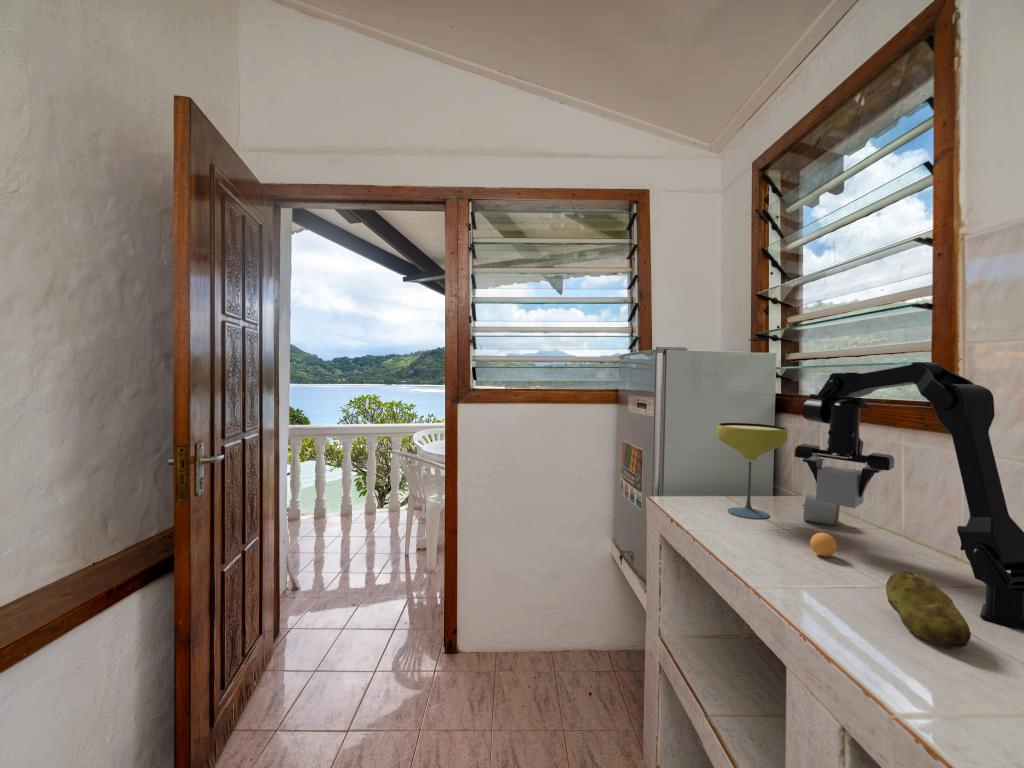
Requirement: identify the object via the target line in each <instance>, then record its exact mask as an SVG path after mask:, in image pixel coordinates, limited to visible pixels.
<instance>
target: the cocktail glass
mask: <svg viewBox="0 0 1024 768" xmlns="http://www.w3.org/2000/svg"><path fill="white" fill-rule="evenodd" d="M788 432H789V431H788V428H786V427H784V426H778V425H772V424H763V423H750V422H748V423H747V422H722V423H718V425H717V427H716V435H717V438H719V440H720V441H721V442H723V443H724V444H725V445H727V446H728V447H729V448H731V449H734V450H735V451H737V452H738V453H740V454H741V455H742V457H743V458H744V459H745V461H747V462H748V477H747V479H748V480H747V481H748V482H747V495H746V502H745V506H744V507H743V506H741V507H740V506H736V507H729V508H727V512H728V513H729V514H730V515H733V516H735V517H739V518H744V519H749V518H751V520H765V519H764V518H766V519H768V518H769V517H770V514H769V513H768V512H766V511H763V510H761V509H757V508H753V507H752V504H751V483H752V482H751V479H752V478H751V477H752V463H754V462H755V461H756V460H757V459H758V458H759V457H760V456H762V455H763V454H765V453H768V452H772V451H774V450H776V449H778V448H781V447H782V446H783V445H784V444H786V443H787V441H788V436H789V433H788Z"/></svg>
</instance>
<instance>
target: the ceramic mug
mask: <svg viewBox="0 0 1024 768" xmlns="http://www.w3.org/2000/svg"><path fill="white" fill-rule="evenodd" d="M804 497H805V498H804V503H803V504H804V505H803V506H804V507H803V513H802V514H803V515H802V517H803V518H802V519H803V521H804V522H811V523H816V524H824V525H827V524H828V526H837V525H838V524H839V519H840V518H839V517H840V510H841V505H836V504H831V503H826V502H821V501H816V493H812V492H806V493H805V496H804Z"/></svg>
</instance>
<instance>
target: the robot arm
mask: <svg viewBox="0 0 1024 768" xmlns="http://www.w3.org/2000/svg"><path fill="white" fill-rule="evenodd" d="M911 385H916V387H917V389H918V392H919V394H920V395H921V396H922V397H923V398H925V399H926V400H927V401H929V402H930V403H931V405H932V408H933V412H934V413H935V415H936V418H937V420H938V422H940V424H942V426H943V427H944V428H945V429H946V430H947V431H948V432H949V433H950V435H951V438H952V442H953V446H954V451H955V454H956V459H957V464H958V470H959V473H960V477H961V482H962V485H963V486H962V487H963V490H964V494H965V495H964V496H965V499H966V504H967V506H968V510H969V518H968V521H967V524H966V525H958V526H957V528H956V529H957V530H956V531H957V534H958V537H959V539H960V548H959V549H960V551H964V553H965V556H966V559H967V560H968V562H969V563H970V566H971V571H972V574H973V576H974V578H975V580H978V581H980V582H982V583H983V584H984V585H985V600H984V601H985V603H983V604H982V606H981V610H980V614H979V618H980V619H982V620H983V619H984V620H986V621H989V622H993V623H997V624H999V625H1000V624H1001V625H1005V626H1008V627H1012V628H1016V629H1019V630H1023V631H1024V530H1022V528H1021V527H1020V526H1019V525H1018V524H1017V523H1016V521H1015V520H1014V519H1012V517H1011V516H1010V514H1009V510H1008V508H1007V507H1008V506H1007V503H1006V498H1005V495H1004V490H1003V488H1002V482H1001V478H1000V474H999V469H998V467H997V466H998V465H997V462H996V458H995V454H994V451H993V446H992V442H991V439H990V438H991V437H990V434H989V431H990V428H991V425H992V424H993V421H994V419H995V399H994V395H993V393H992V391H991V390H990V389H989V388H987V387H984V386H983V385H981V384H976V383H974V382H973V381H971V380H970V379H968V378H965V377H963V376H961V375H959V374H957V373H955V372H953V371H951V370H948V369H947V368H946V367H944V366H943V365H942V364H940V363H938V362H929V361H916V362H913V363H912V364H906V365H900V366H894V367H889V368H883V369H877V370H872V371H866V372H849V371H848V372H845V371H844V372H843V371H842V372H841V371H840V372H838V371H835V372H832V373H831V374H829V377H828V379H827V381H826V382H825V383H824V385H823V387H822V388H821V389H820V391H819V392H818V393H810V394H809V398H808V399H806V401H805V402H804V403H803V404H802V406H801V414H802V417H803V418H804V420H807V421H810V422H816V423H822V424H828V425H829V429H828V433H827V435H828V439H827V445H828V446H827V449H821V447H820V445H816V444H809V443H807V444H806V443H802V444H798V445H797V446H796V447H795V449H794V457H795V458H800V459H802V462H804V463H806V464H807V465H808V467H809V469H810V471H811V473H812V475H813V478H814V480H815V483H816V484H817V472H818V469H820V468H823V462H824V459H825V458H826V459H832V460H839V461H846V462H853V463H858V464H859V463H861V464H864V465H865V467H862V468H861V471H862V473H861V480H860V487H859V497H862V496H863V494H864V495H865V492H866V489H867V488H868V486H869V483H870V481H871V480H872V478H873V477H874V475H875V474H878V473H880V472H882V471H891V470H892V469H894V468H895V457H894V456H893V455H892V454H886V453H885V454H884V453H879V452H878V453H877V452H872V453H869V454H868V455H867V454H865V455H864V454H863V449H864V443H865V442H864V441H863V440H862V439H861V438H860V419H861V409H863V410H864V409H867V410H869V408H870V405H869V404H868V403H867V402H866V401H864V399H863V398H862V397H864V396H867V395H870V394H872V393H873V392H875V391H877V390H882V389H889V388H896V387H905V386H911ZM1008 571H1010V572H1008Z"/></svg>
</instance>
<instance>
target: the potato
mask: <svg viewBox="0 0 1024 768" xmlns="http://www.w3.org/2000/svg"><path fill="white" fill-rule="evenodd" d="M885 584H886V585H885V593H886V597H887V600H888V601H887V602H888V603H889V604H890V606H891V607H892V609H893V610H894V611H895V612H896V613H897V614H898V616H899V618H900V620H901V622H902V624H903V625H904V626H905V628H906V629H908V631H910V632H911V633H913V634H915V636H917V637H919V638H921V639H923V640H925V641H927V642H929V643H932V644H935V645H938V646H942V647H943V648H948V649H958V648H959V649H960V648H963V647H965V646H967V645H968V644H969V641H970V639H971V635H972V632H971V629H970V626H969V625H968V622H967V621H966V619H965V618H964V617H963V615H962V614H961V612H960V611H959V608H957V606H956V605H955V603H954V601H953V599H952V598H951V597H949V595H948V594H947V593H945V592H944V591H943V590H942V589H941V588H940V587H938V586H937V585H936V583H934V581H932V580H931V579H930V578H928V577H927V576H925V575H923V574H921V573H918V572H914V571H902V572H896V573H893V574H892V575H890V577H889V578H888V580H887V581H886V583H885Z"/></svg>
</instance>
